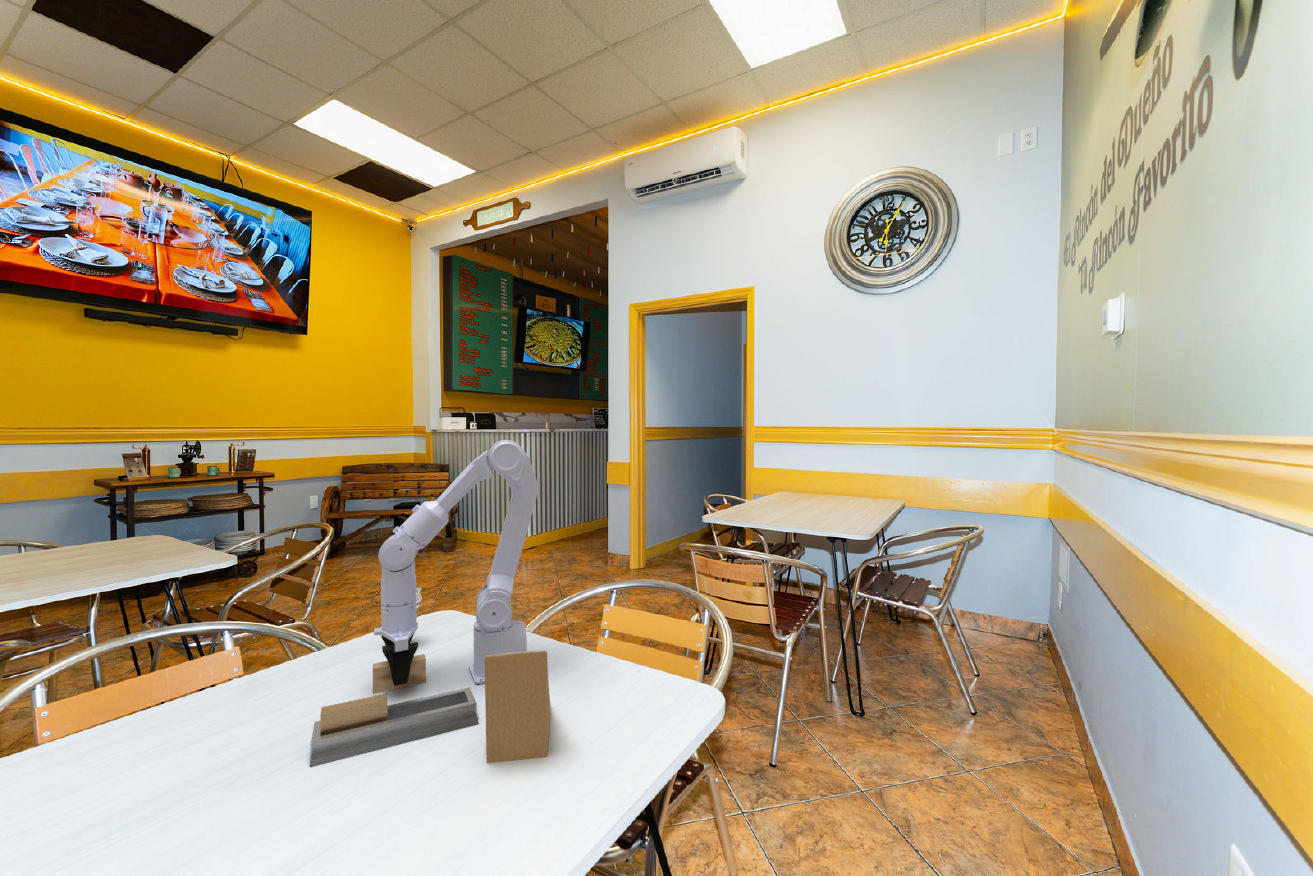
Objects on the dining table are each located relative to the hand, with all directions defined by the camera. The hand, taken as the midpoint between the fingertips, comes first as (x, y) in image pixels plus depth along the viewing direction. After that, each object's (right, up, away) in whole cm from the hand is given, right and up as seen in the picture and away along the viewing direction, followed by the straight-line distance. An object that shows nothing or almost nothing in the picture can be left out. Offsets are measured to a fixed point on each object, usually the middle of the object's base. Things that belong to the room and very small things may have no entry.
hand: (399, 677), depth 96 cm
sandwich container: (+26, -2, -15) cm, 30 cm away
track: (+7, -1, -15) cm, 16 cm away
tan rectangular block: (0, -2, 0) cm, 2 cm away
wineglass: (-7, -2, +18) cm, 19 cm away
